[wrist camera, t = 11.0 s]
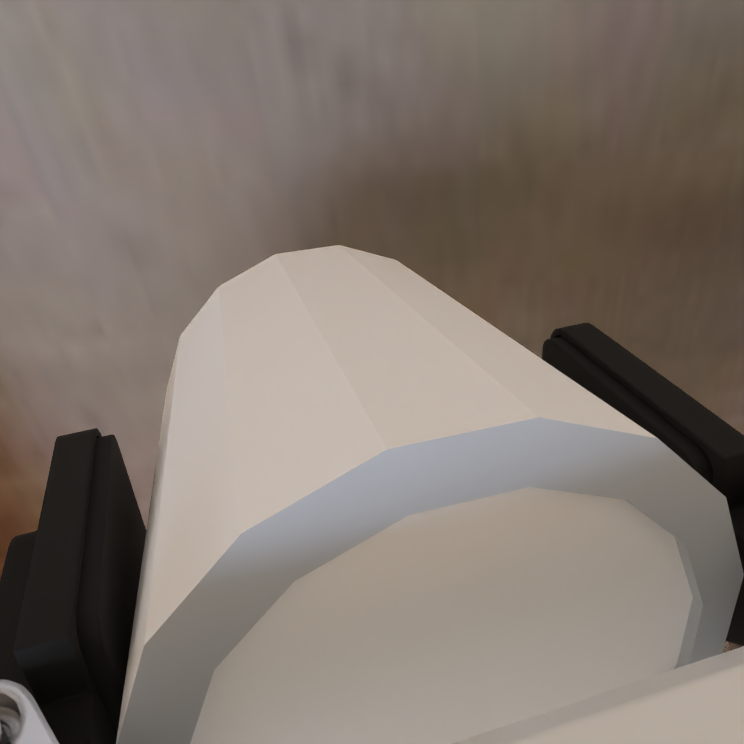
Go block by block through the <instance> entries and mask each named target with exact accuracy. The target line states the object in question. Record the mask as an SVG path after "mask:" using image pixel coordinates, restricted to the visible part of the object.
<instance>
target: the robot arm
mask: <svg viewBox="0 0 744 744" xmlns="http://www.w3.org/2000/svg"><path fill="white" fill-rule="evenodd" d="M542 360H544V361H545V362H547V363H548V364H550V365H551V366H553V367H554V368H556V369H557V370H558V371H560V372H561V373H563V374H564V375H566V376H567V377H569V378H570V379H572V380H573V381H575V382H576V383H578V384H579V385H580V386H582V387H583V388H585V389H586V390H588V391H589V392H591V393H592V394H594V395H595V396H597V397H598V398H600V399H601V400H602V401H604V402H605V403H607V404H608V405H610V406H611V407H613V408H614V409H616V410H617V411H619V412H620V413H622V414H623V415H624V416H626V417H627V418H629V419H630V420H632V421H633V422H635V423H636V424H638V425H639V426H641V427H642V428H644V429H645V430H646V431H648V432H649V433H651V434H652V435H654V436H655V437H657V438H658V439H659V440H660V441H662V442H663V443H664V444H665V445H666V446H667V447H669V448H670V449H671V450H672V451H673V452H674V453H675V454H677V455H678V456H679V457H680V458H681V459H682V460H684V461H685V462H686V463H687V464H688V465H689V466H690V467H692V468H693V469H694V470H695V471H696V472H697V473H699V474H700V475H701V476H702V477H703V478H704V479H705V480H707V481H708V482H709V483H710V484H711V485H712V486H714V487H715V488H716V489H717V490H718V491H719V492H720V493H722V494H723V495H724V496H725V497H726V499H727V503H728V508H729V512H730V516H731V521H732V525H733V530H734V534H735V538H736V543H737V547H738V551H739V556H740V560H741V564H742V569H743V573H744V435H742V434H741V433H740V432H738V431H737V430H735V429H734V428H733V427H731V426H730V425H729V424H727V423H726V422H724V421H723V420H722V419H720V418H719V417H718V416H716V415H715V414H714V413H712V412H711V411H709V410H708V409H707V408H705V407H704V406H703V405H701V404H700V403H699V402H697V401H696V400H694V399H693V398H692V397H690V396H689V395H688V394H686V393H685V392H683V391H682V390H681V389H679V388H678V387H677V386H675V385H674V384H673V383H671V382H670V381H668V380H667V379H666V378H664V377H663V376H662V375H660V374H659V373H657V372H656V371H655V370H653V369H652V368H651V367H649V366H648V365H647V364H645V363H644V362H642V361H641V360H640V359H638V358H637V357H636V356H634V355H633V354H631V353H630V352H629V351H627V350H626V349H625V348H623V347H622V346H621V345H619V344H618V343H616V342H615V341H614V340H612V339H611V338H610V337H608V336H607V335H606V334H604V333H603V332H601V331H600V330H599V329H597V328H596V327H595V326H593V325H592V324H590V323H582V324H578V325H573V326H568V327H564V328H559V329H555V330H554V331H553V333H552V335H551V339H548V340H546V341H545V342H544V344H543V352H542ZM145 537H146V529H145V526H144V523H143V520H142V517H141V513H140V510H139V507H138V504H137V501H136V498H135V495H134V492H133V489H132V486H131V483H130V479H129V476H128V473H127V470H126V467H125V464H124V461H123V458H122V455H121V452H120V449H119V446H118V443H117V440H116V438H115V436H114V435H108V436H104V437H102V436H101V433H100V432H99V430H98V429H97V428H95V429H91V430H86V431H82V432H77V433H72V434H68V435H63V436H59V437H57V439H56V442H55V447H54V452H53V456H52V461H51V466H50V471H49V476H48V481H47V486H46V491H45V496H44V501H43V506H42V510H41V515H40V520H39V525H38V530H37V531H35V532H31V533H27V534H22V535H18V536H15V537H14V538H13V539H12V540H11V543H10V545H9V548H8V552H7V556H6V560H5V564H4V568H3V572H2V576H1V580H0V744H116V740H117V733H118V726H119V719H120V712H121V705H122V698H123V691H124V684H125V677H126V670H127V663H128V656H129V649H130V642H131V635H132V628H133V621H134V614H135V607H136V600H137V593H138V586H139V579H140V572H141V565H142V558H143V551H144V544H145ZM726 641H728V642H729V649H730V651H728V652H725V653H722V654H719V655H716V656H713V657H709V658H706V659H703V660H700V661H697V662H694V663H691V664H688V665H685V666H682V667H679V668H676V669H673V670H670V671H667V672H664V673H661V674H658V675H655V676H652V677H649V678H646V679H643V680H640V681H637V682H634V683H631V684H628V685H625V686H622V687H619V688H616V689H613V690H610V691H607V692H604V693H601V694H598V695H595V696H592V697H589V698H586V699H583V700H580V701H577V702H574V703H571V704H568V705H565V706H562V707H559V708H556V709H553V710H550V711H547V712H544V713H541V714H538V715H535V716H532V717H529V718H526V719H523V720H520V721H517V722H515V723H512V724H509V725H506V726H503V727H500V728H497V729H494V730H491V731H488V732H485V733H482V734H479V735H476V736H473V737H470V738H467V739H464V740H461V741H458V742H455V743H452V744H744V576H743V580H742V584H741V587H740V591H739V594H738V598H737V602H736V605H735V609H734V612H733V616H732V619H731V623H730V627H729V630H728V634H727V637H726Z"/></svg>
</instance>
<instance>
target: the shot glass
mask: <svg viewBox="0 0 744 744" xmlns="http://www.w3.org/2000/svg"><path fill="white" fill-rule="evenodd" d="M743 576H744V573H743V569H742V564H741V560H740V556H739V551H738V547H737V543H736V538H735V534H734V530H733V525H732V521H731V516H730V512H729V508H728V503H727V499H726V497H725V496H724V495H723V494H722V493H720V492H719V491H718V490H717V489H716V488H715V487H714V486H712V485H711V484H710V483H709V482H708V481H707V480H705V479H704V478H703V477H702V476H701V475H700V474H699V473H697V472H696V471H695V470H694V469H693V468H692V467H690V466H689V465H688V464H687V463H686V462H685V461H684V460H682V459H681V458H680V457H679V456H678V455H677V454H675V453H674V452H673V451H672V450H671V449H670V448H669V447H667V446H666V445H665V444H664V443H663V442H662V441H660V440H659V439H658V438H657V437H655V436H654V435H652V434H651V433H649V432H648V431H646V430H645V429H644V428H642V427H641V426H639V425H638V424H636V423H635V422H633V421H632V420H630V419H629V418H627V417H626V416H624V415H623V414H622V413H620V412H619V411H617V410H616V409H614V408H613V407H611V406H610V405H608V404H607V403H605V402H604V401H602V400H601V399H600V398H598V397H597V396H595V395H594V394H592V393H591V392H589V391H588V390H586V389H585V388H583V387H582V386H580V385H579V384H578V383H576V382H575V381H573V380H572V379H570V378H569V377H567V376H566V375H564V374H563V373H561V372H560V371H558V370H557V369H556V368H554V367H553V366H551V365H550V364H548V363H547V362H545V361H544V360H542V359H541V358H539V357H538V356H536V355H535V354H533V353H532V352H531V351H529V350H528V349H526V348H525V347H523V346H522V345H520V344H519V343H517V342H516V341H514V340H513V339H511V338H510V337H509V336H507V335H506V334H504V333H503V332H501V331H500V330H498V329H497V328H495V327H494V326H492V325H491V324H489V323H488V322H487V321H485V320H484V319H482V318H481V317H479V316H478V315H476V314H475V313H473V312H472V311H470V310H469V309H467V308H466V307H465V306H463V305H462V304H460V303H459V302H457V301H456V300H454V299H453V298H451V297H450V296H448V295H447V294H445V293H444V292H443V291H441V290H440V289H438V288H437V287H435V286H434V285H432V284H431V283H429V282H428V281H426V280H425V279H423V278H422V277H421V276H419V275H418V274H416V273H415V272H413V271H412V270H410V269H409V268H407V267H406V266H404V265H403V264H401V263H400V262H399V261H397V260H395V259H391V258H387V257H383V256H379V255H375V254H372V253H368V252H364V251H360V250H356V249H352V248H348V247H345V246H341V245H335V246H328V247H321V248H314V249H307V250H300V251H293V252H286V253H279V254H275V255H273V256H271V257H269V258H268V259H266V260H264V261H262V262H261V263H259V264H257V265H255V266H254V267H252V268H250V269H248V270H247V271H245V272H243V273H241V274H240V275H238V276H236V277H234V278H233V279H231V280H229V281H227V282H226V283H224V284H222V285H220V286H219V287H218V288H217V289H216V290H215V292H214V293H213V294H212V296H211V297H210V298H209V299H208V301H207V302H206V303H205V305H204V306H203V307H202V308H201V310H200V311H199V312H198V313H197V315H196V316H195V317H194V319H193V320H192V321H191V322H190V324H189V325H188V326H187V328H186V329H185V330H184V331H183V333H182V334H181V335H180V338H179V342H178V346H177V350H176V354H175V358H174V362H173V366H172V370H171V375H170V379H169V383H168V387H167V391H166V397H165V404H164V411H163V418H162V425H161V432H160V439H159V446H158V453H157V460H156V467H155V474H154V481H153V488H152V495H151V502H150V509H149V516H148V523H147V530H146V537H145V544H144V551H143V558H142V565H141V572H140V579H139V586H138V593H137V600H136V607H135V614H134V621H133V628H132V635H131V642H130V649H129V656H128V663H127V670H126V677H125V684H124V691H123V698H122V705H121V712H120V719H119V726H118V733H117V740H116V744H452V743H455V742H458V741H461V740H464V739H467V738H470V737H473V736H476V735H479V734H482V733H485V732H488V731H491V730H494V729H497V728H500V727H503V726H506V725H509V724H512V723H515V722H517V721H520V720H523V719H526V718H529V717H532V716H535V715H538V714H541V713H544V712H547V711H550V710H553V709H556V708H559V707H562V706H565V705H568V704H571V703H574V702H577V701H580V700H583V699H586V698H589V697H592V696H595V695H598V694H601V693H604V692H607V691H610V690H613V689H616V688H619V687H622V686H625V685H628V684H631V683H634V682H637V681H640V680H643V679H646V678H649V677H652V676H655V675H658V674H661V673H664V672H667V671H670V670H673V669H676V668H679V667H682V666H685V665H688V664H691V663H694V662H697V661H700V660H703V659H706V658H709V657H713V656H716V655H719V654H722V652H723V648H724V645H725V641H726V637H727V634H728V630H729V627H730V623H731V619H732V616H733V612H734V609H735V605H736V602H737V598H738V594H739V591H740V587H741V584H742V580H743Z"/></svg>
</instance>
